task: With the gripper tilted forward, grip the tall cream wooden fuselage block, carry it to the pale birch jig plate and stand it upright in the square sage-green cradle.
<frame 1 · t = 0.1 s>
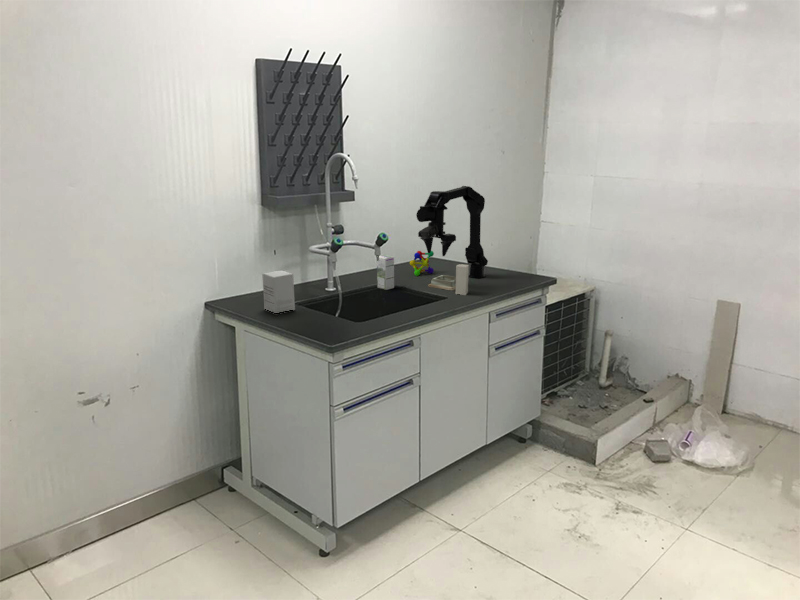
hand: (436, 254, 284), 15 cm above the table, tool pointing down, fingers open, 9 cm apart
supplement box: (279, 310, 249), on the table
syrup box: (385, 288, 284), on the table
molecular model: (421, 274, 312), on the table
jig: (446, 285, 288), on the table
fuselage block: (461, 293, 275), on the table
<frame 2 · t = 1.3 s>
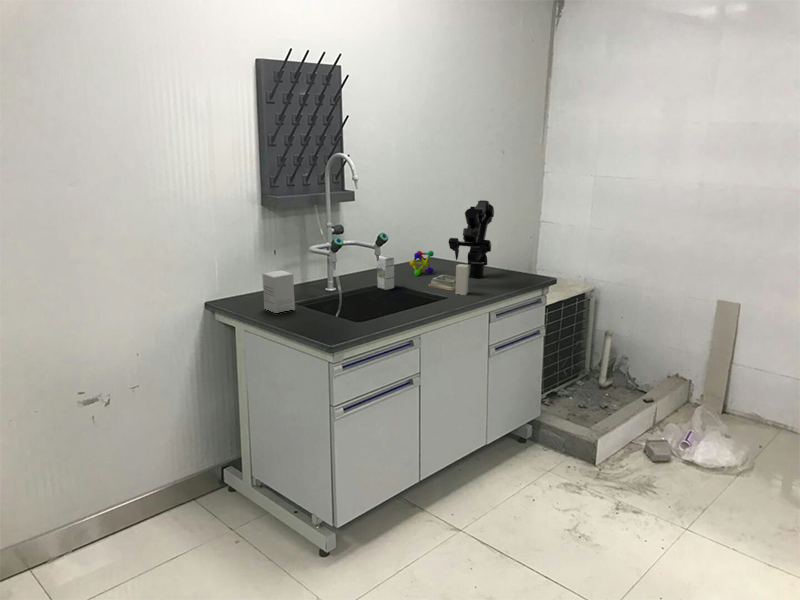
hand: (466, 260, 279), 13 cm above the table, tool tilted 45°, fingers open, 9 cm apart
nothing on the table moved.
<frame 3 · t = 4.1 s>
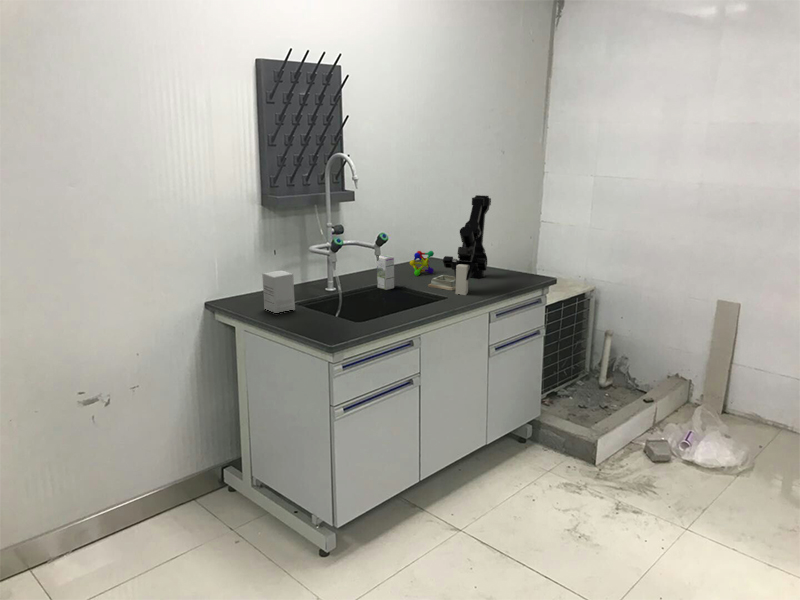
hand: (461, 279, 272), 7 cm above the table, tool tilted 45°, fingers closed on fuselage block, 4 cm apart
fuselage block: (461, 293, 275), on the table, touching gripper
everything else where it was.
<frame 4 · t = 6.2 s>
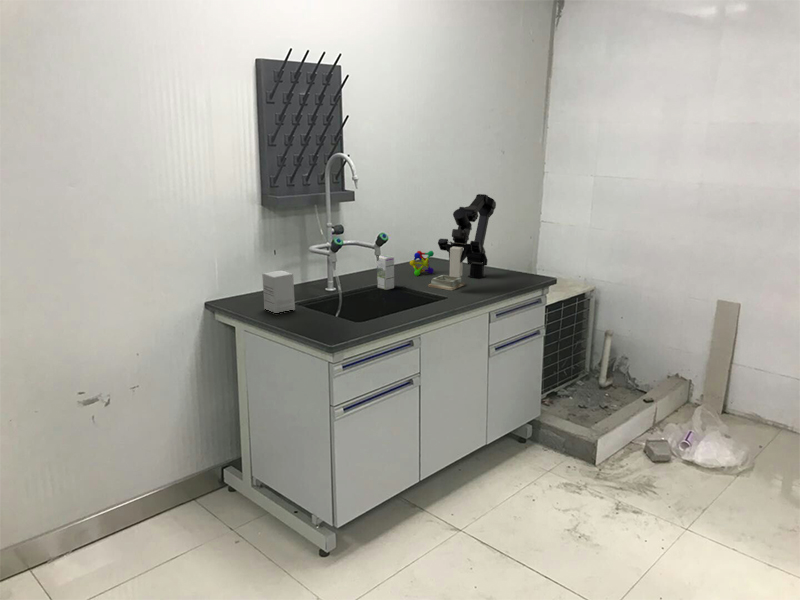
hand: (455, 261, 274), 14 cm above the table, tool tilted 45°, fingers closed on fuselage block, 4 cm apart
fuselage block: (455, 275, 277), point 7 cm above the table, touching gripper
everything else where it was.
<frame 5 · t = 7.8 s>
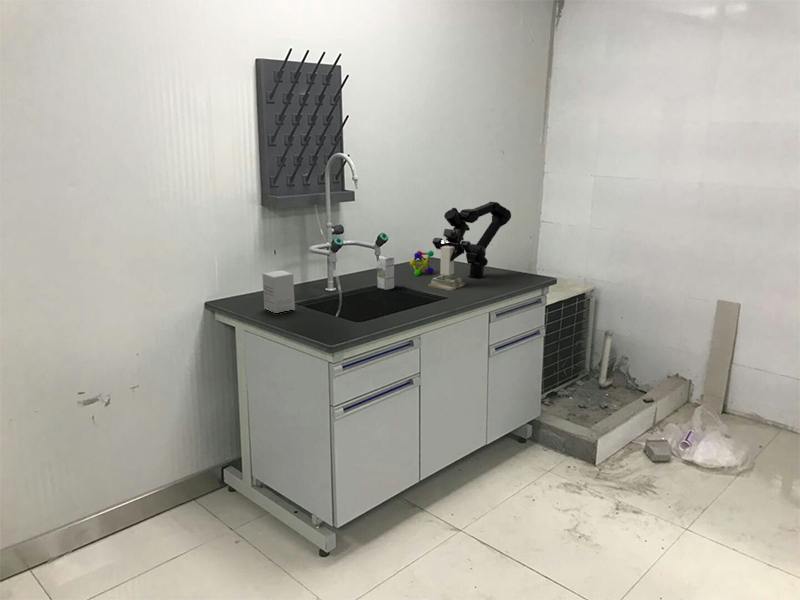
hand: (445, 260, 284), 12 cm above the table, tool tilted 45°, fingers closed on fuselage block, 4 cm apart
fuselage block: (447, 273, 287), point 6 cm above the table, touching gripper
everything else where it was.
when the fingers open (9 cm above the table, at t = 8.8 s): fuselage block drops 1 cm, resting on jig.
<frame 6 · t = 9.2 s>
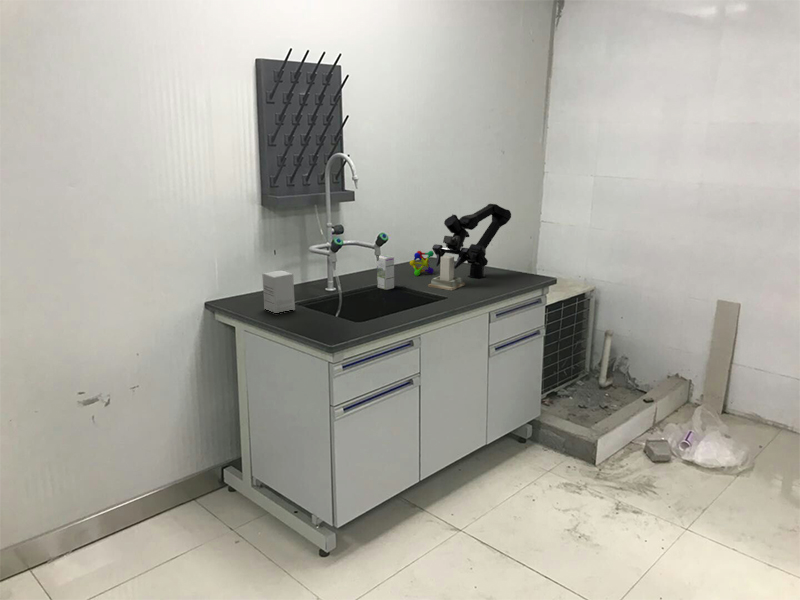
hand: (445, 266, 285), 9 cm above the table, tool tilted 45°, fingers open, 9 cm apart
fuselage block: (446, 283, 288), point 1 cm above the table, touching jig
everything else where it was.
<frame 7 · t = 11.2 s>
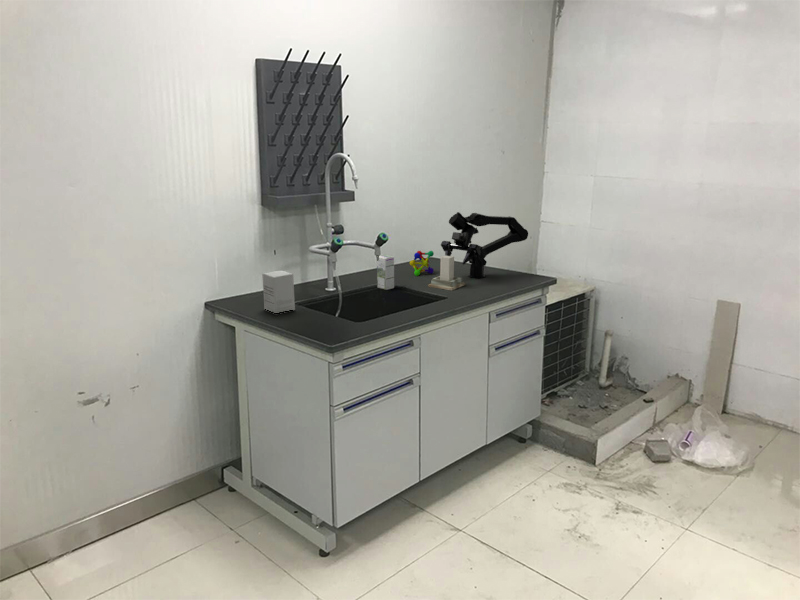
hand: (454, 262, 291), 10 cm above the table, tool tilted 45°, fingers open, 9 cm apart
nothing on the table moved.
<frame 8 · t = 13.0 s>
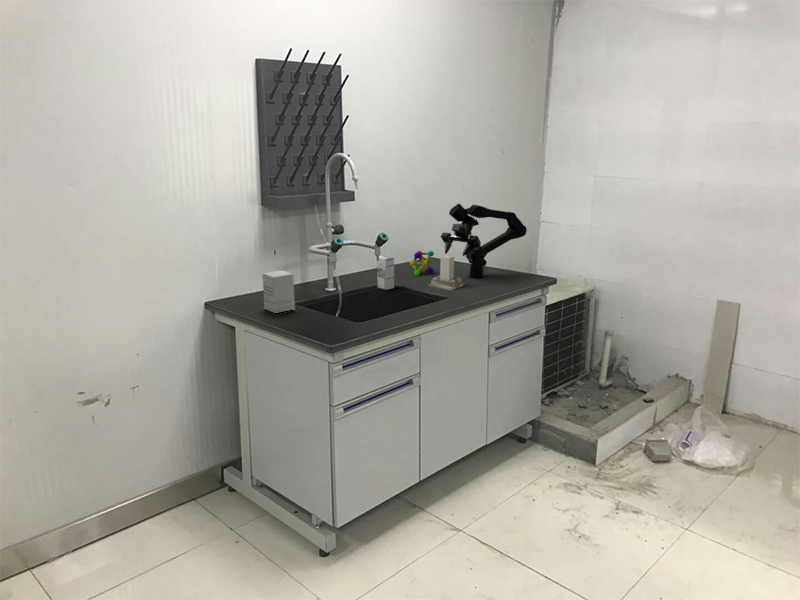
hand: (454, 254, 290), 14 cm above the table, tool tilted 45°, fingers open, 9 cm apart
nothing on the table moved.
at the end: fuselage block 0.0 cm off-centre on the jig, point 1.0 cm above the jig's base; fuselage block tilted 0°; the gripper is holding nothing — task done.
